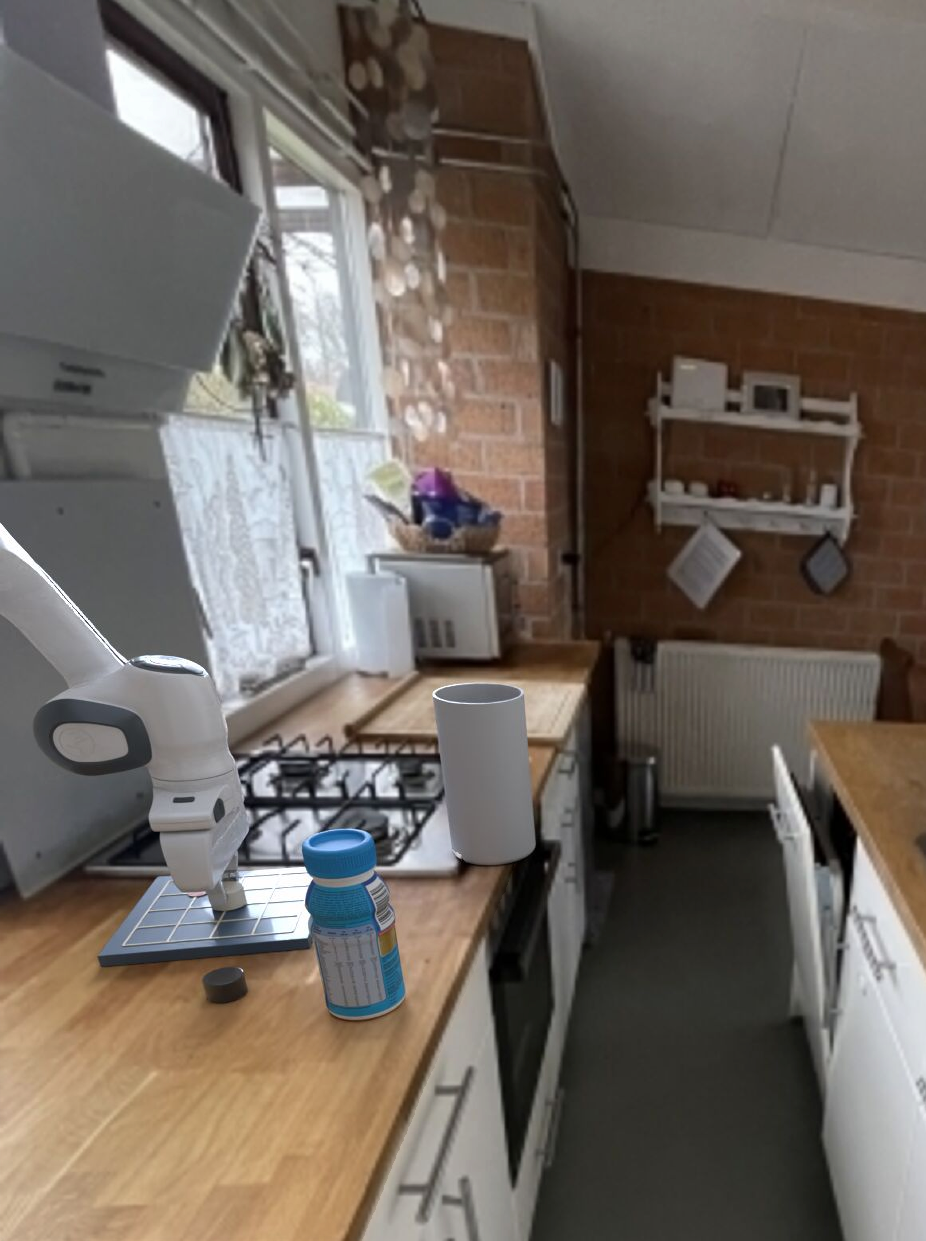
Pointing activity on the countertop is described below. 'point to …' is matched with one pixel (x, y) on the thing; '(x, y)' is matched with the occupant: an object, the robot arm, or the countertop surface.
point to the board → (214, 921)
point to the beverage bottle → (352, 925)
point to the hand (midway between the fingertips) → (226, 893)
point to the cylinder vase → (486, 771)
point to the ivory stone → (233, 896)
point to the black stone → (224, 984)
